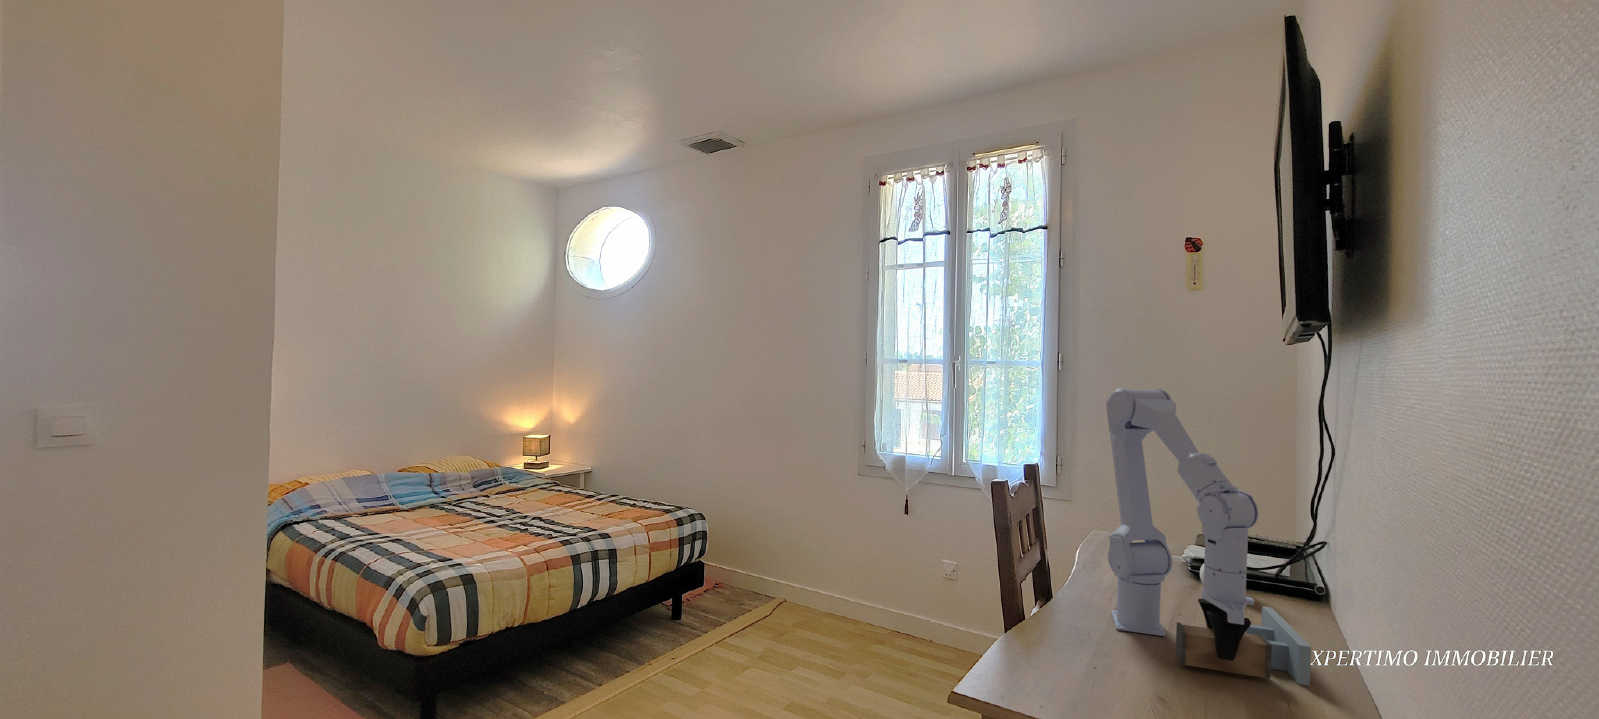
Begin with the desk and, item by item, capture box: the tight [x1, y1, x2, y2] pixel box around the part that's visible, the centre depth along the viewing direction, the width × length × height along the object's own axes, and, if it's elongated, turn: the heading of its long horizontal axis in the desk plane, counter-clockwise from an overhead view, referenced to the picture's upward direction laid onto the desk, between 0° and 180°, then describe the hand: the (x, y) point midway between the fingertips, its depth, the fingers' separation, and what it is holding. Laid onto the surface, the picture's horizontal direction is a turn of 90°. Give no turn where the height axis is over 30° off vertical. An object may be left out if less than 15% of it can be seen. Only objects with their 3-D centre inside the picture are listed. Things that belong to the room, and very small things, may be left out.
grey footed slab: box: [1245, 605, 1312, 687], centre depth 114 cm, size 18×6×6 cm, turn 161°
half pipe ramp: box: [1175, 621, 1272, 679], centre depth 108 cm, size 12×4×5 cm, turn 71°
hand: (1221, 652), depth 108 cm, fingers closed on half pipe ramp, 4 cm apart
